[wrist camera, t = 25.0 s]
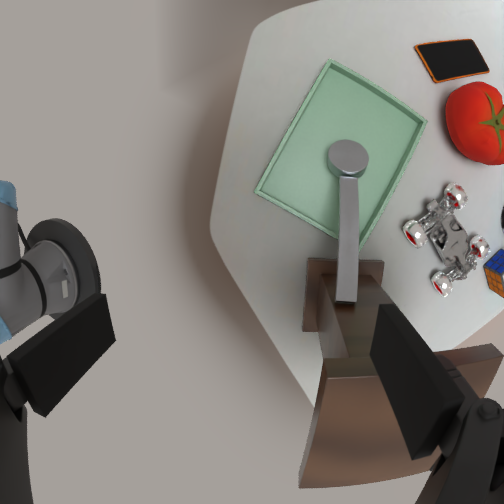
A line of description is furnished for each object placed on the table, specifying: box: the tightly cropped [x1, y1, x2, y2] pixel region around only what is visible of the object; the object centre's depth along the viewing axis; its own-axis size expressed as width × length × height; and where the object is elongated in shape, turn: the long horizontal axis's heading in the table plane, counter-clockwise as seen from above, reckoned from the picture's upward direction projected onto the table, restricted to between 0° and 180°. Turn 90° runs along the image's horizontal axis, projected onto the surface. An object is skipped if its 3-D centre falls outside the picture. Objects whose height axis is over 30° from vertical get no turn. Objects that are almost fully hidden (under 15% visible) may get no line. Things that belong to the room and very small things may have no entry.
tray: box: [254, 58, 428, 252], centre depth 37 cm, size 23×17×2 cm
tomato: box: [446, 82, 504, 165], centre depth 28 cm, size 14×13×10 cm
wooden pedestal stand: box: [299, 258, 504, 488], centre depth 29 cm, size 14×14×29 cm
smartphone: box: [415, 39, 489, 83], centre depth 30 cm, size 8×17×1 cm, turn 115°
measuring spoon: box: [327, 140, 369, 304], centre depth 33 cm, size 22×6×2 cm
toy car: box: [403, 183, 490, 297], centre depth 36 cm, size 15×12×5 cm
